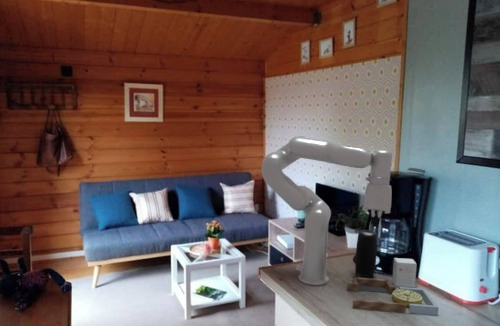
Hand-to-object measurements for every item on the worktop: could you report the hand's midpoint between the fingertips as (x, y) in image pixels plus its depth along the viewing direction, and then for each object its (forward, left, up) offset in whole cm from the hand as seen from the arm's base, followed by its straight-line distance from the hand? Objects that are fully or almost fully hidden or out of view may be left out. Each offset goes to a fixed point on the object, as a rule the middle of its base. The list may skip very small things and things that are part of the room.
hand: (374, 226), depth 165 cm
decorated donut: (+16, -1, -27) cm, 31 cm away
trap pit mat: (+1, 0, -26) cm, 26 cm away
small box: (+8, +14, -26) cm, 31 cm away
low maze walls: (+5, -7, -26) cm, 27 cm away
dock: (+19, -1, -26) cm, 32 cm away
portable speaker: (-8, +11, -26) cm, 30 cm away
